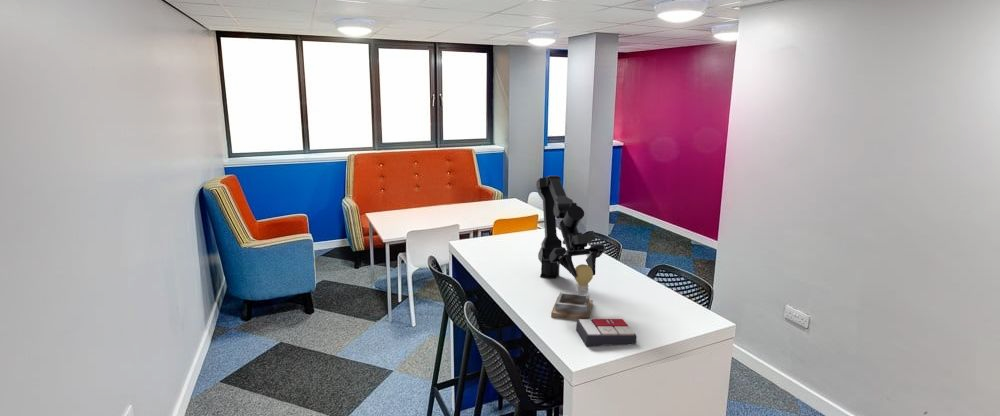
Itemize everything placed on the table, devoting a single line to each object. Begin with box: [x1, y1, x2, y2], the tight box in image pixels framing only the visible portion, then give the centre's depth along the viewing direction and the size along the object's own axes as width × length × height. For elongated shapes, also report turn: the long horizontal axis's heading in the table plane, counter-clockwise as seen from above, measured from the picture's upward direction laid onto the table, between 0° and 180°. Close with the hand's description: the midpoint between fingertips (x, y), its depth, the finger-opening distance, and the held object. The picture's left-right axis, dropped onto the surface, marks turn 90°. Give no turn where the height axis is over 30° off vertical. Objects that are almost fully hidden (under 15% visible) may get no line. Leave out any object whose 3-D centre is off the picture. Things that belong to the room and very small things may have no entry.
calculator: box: [575, 318, 638, 348], centre depth 154 cm, size 11×4×15 cm
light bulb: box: [573, 263, 594, 295], centre depth 171 cm, size 6×6×10 cm
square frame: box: [550, 291, 594, 321], centre depth 172 cm, size 12×14×4 cm
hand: (585, 276), depth 169 cm, fingers closed on light bulb, 6 cm apart
